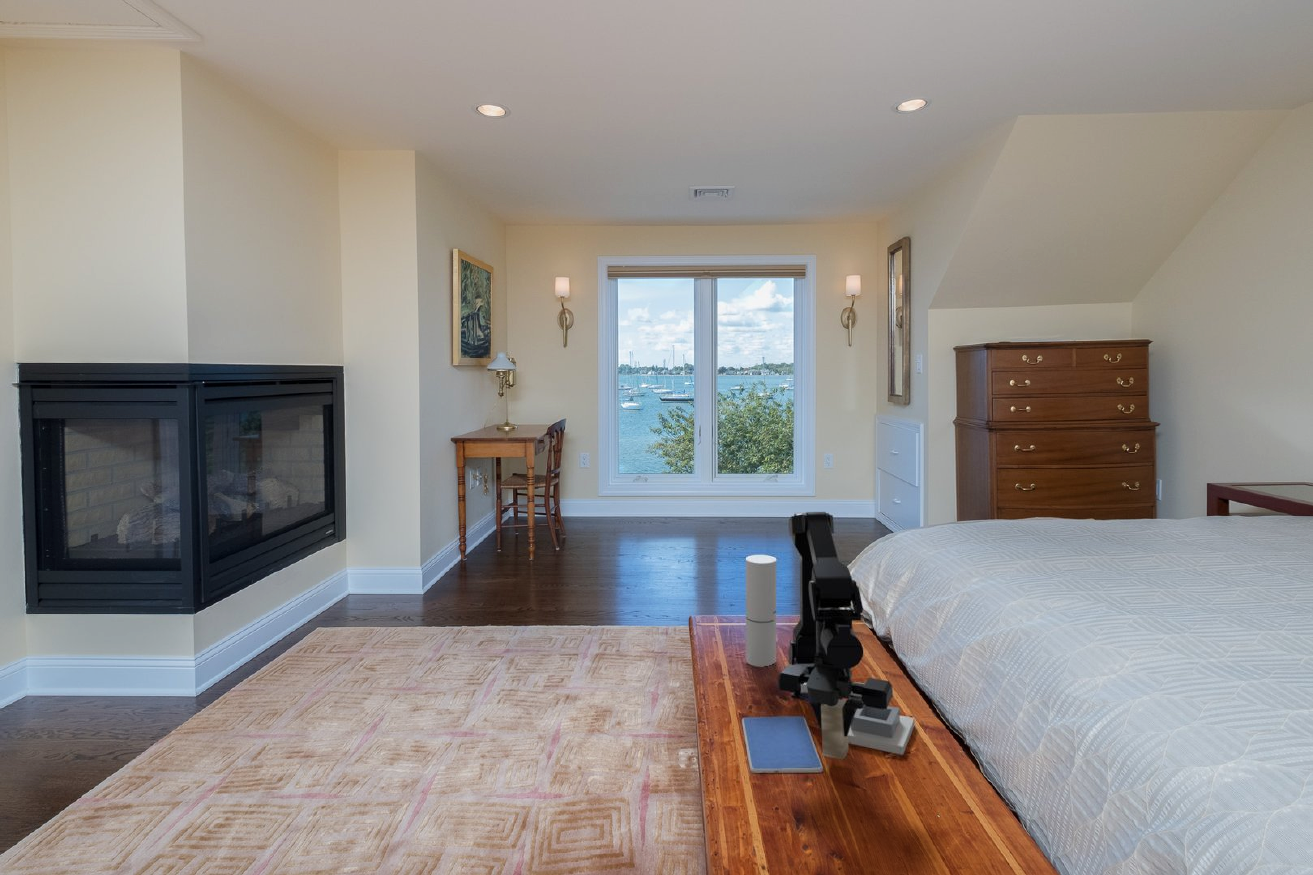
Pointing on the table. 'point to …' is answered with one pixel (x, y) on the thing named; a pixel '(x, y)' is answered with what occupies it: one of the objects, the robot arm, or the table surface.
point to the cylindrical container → (760, 610)
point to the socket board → (881, 729)
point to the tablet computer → (780, 745)
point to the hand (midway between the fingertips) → (834, 733)
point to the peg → (834, 730)
